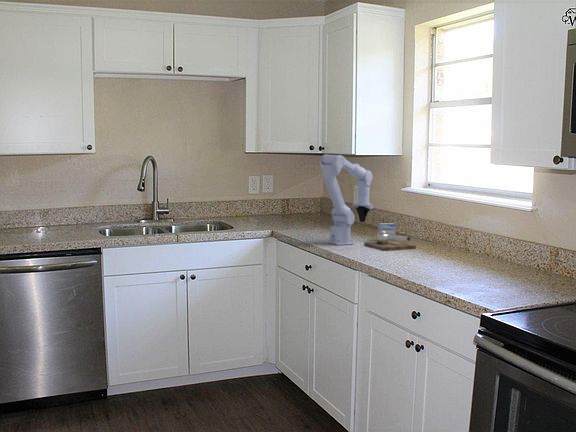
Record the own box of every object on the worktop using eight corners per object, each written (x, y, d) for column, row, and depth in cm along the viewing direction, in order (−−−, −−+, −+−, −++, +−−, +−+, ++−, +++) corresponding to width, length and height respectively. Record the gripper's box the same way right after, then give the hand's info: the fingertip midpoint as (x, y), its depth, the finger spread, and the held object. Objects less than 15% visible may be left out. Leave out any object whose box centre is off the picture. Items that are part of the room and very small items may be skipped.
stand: (384, 250, 300) (385, 247, 300) (364, 245, 314) (364, 241, 314) (415, 248, 309) (415, 245, 309) (394, 243, 323) (394, 239, 323)
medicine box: (380, 241, 327) (381, 224, 326) (376, 240, 331) (377, 222, 330) (394, 241, 329) (395, 224, 328) (391, 239, 333) (392, 222, 332)
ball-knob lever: (376, 243, 310) (377, 231, 309) (377, 242, 315) (377, 230, 314) (410, 245, 307) (410, 233, 306) (410, 244, 311) (411, 232, 311)
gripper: (378, 195, 321) (377, 223, 322) (361, 192, 333) (360, 219, 335) (367, 195, 317) (365, 224, 319) (349, 193, 330) (348, 220, 331)
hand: (362, 221), depth 327 cm, fingers closed
